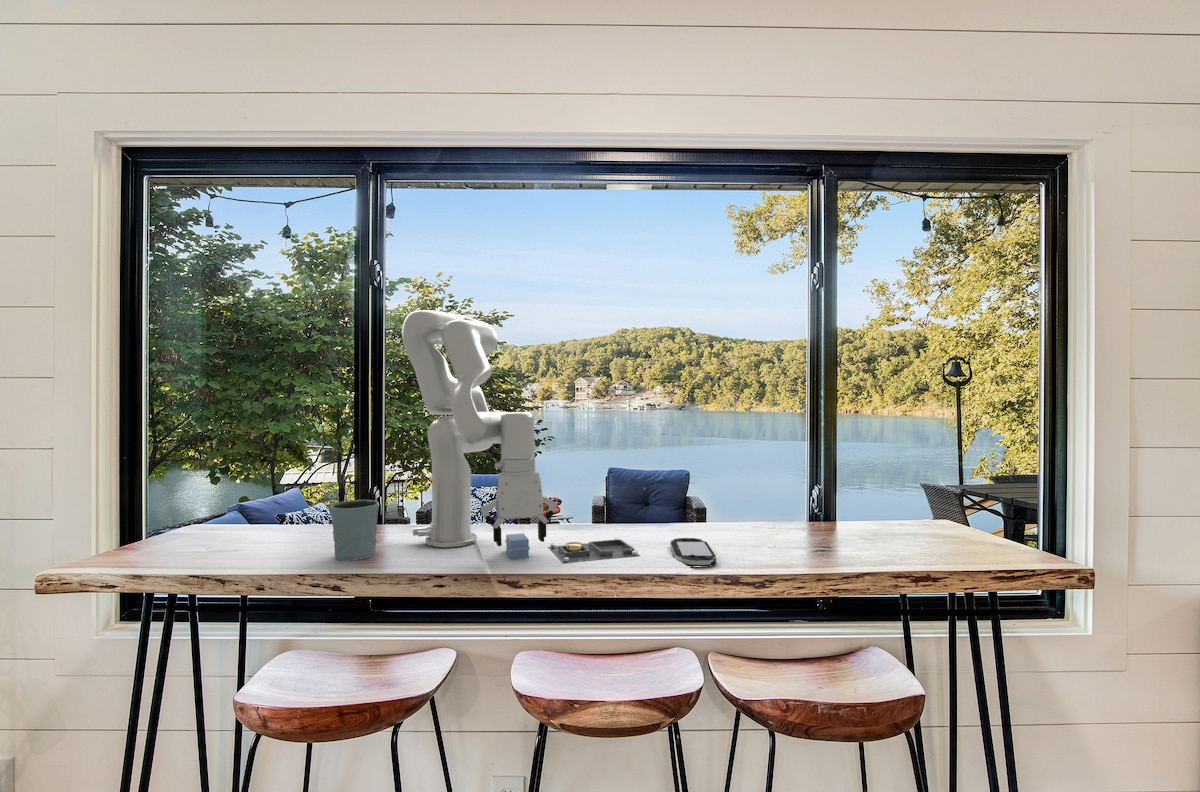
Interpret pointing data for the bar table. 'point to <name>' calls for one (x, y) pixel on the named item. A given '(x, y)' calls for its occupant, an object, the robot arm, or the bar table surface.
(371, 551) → the grey-green cup
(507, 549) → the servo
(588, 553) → the plate
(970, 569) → the bar table surface
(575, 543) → the bushing
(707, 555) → the gaming console
